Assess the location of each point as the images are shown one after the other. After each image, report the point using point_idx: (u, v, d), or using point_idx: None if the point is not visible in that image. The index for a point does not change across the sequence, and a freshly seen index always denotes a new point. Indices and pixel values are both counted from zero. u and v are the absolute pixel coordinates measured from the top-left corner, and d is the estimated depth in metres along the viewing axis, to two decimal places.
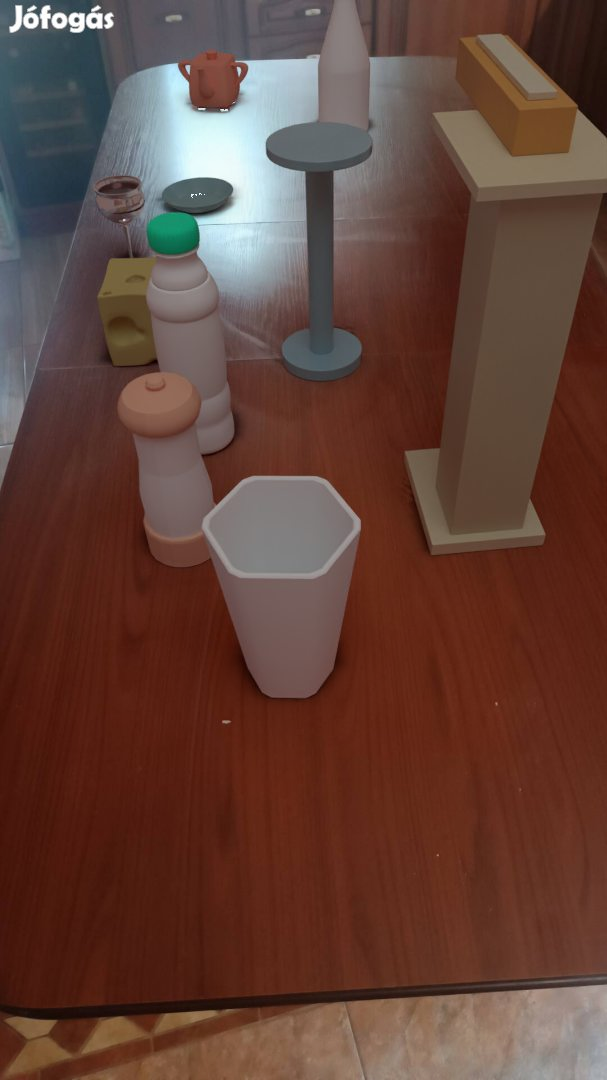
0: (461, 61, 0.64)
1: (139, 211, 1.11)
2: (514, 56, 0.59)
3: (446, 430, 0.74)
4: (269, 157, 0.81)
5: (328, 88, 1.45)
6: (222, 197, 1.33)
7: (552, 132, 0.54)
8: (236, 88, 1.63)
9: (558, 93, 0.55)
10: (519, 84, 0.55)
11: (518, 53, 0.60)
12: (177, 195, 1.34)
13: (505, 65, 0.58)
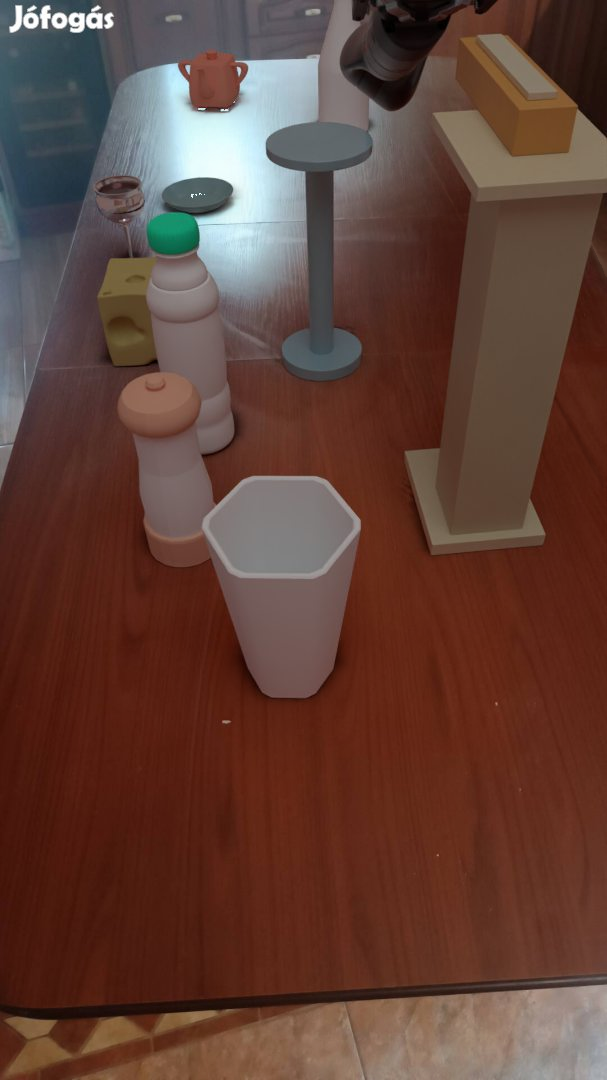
0: (461, 61, 0.64)
1: (139, 211, 1.11)
2: (514, 56, 0.59)
3: (446, 430, 0.74)
4: (269, 157, 0.81)
5: (328, 88, 1.45)
6: (222, 197, 1.33)
7: (552, 132, 0.54)
8: (236, 88, 1.63)
9: (558, 93, 0.55)
10: (519, 84, 0.55)
11: (518, 53, 0.60)
12: (177, 195, 1.34)
13: (505, 65, 0.58)
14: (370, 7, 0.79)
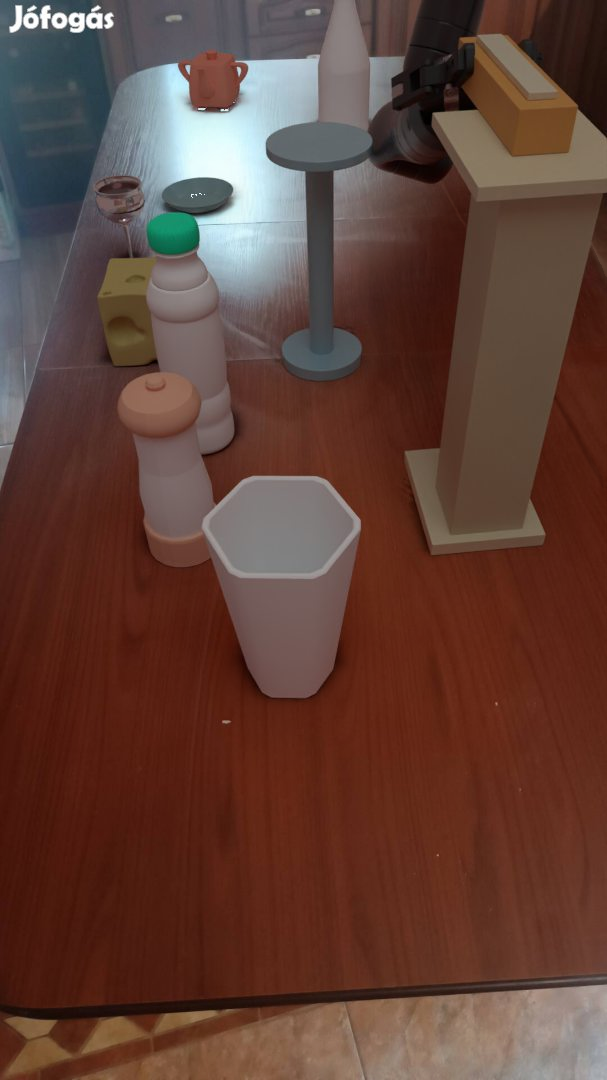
0: None
1: (139, 211, 1.11)
2: (514, 56, 0.59)
3: (446, 430, 0.74)
4: (269, 157, 0.81)
5: (328, 88, 1.45)
6: (222, 197, 1.33)
7: (552, 132, 0.54)
8: (236, 88, 1.63)
9: (558, 93, 0.55)
10: (520, 84, 0.55)
11: (518, 53, 0.60)
12: (177, 195, 1.34)
13: (505, 65, 0.58)
14: None
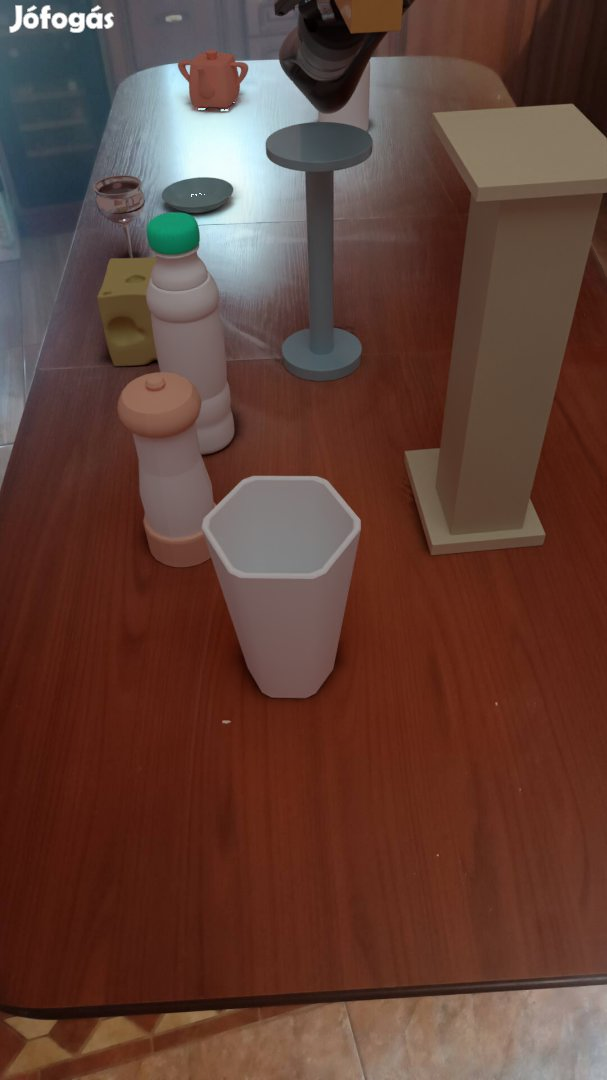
0: None
1: (139, 211, 1.11)
2: None
3: (446, 430, 0.74)
4: (269, 157, 0.81)
5: None
6: (222, 197, 1.33)
7: (384, 11, 0.62)
8: (236, 88, 1.63)
9: None
10: None
11: None
12: (177, 195, 1.34)
13: None
14: None
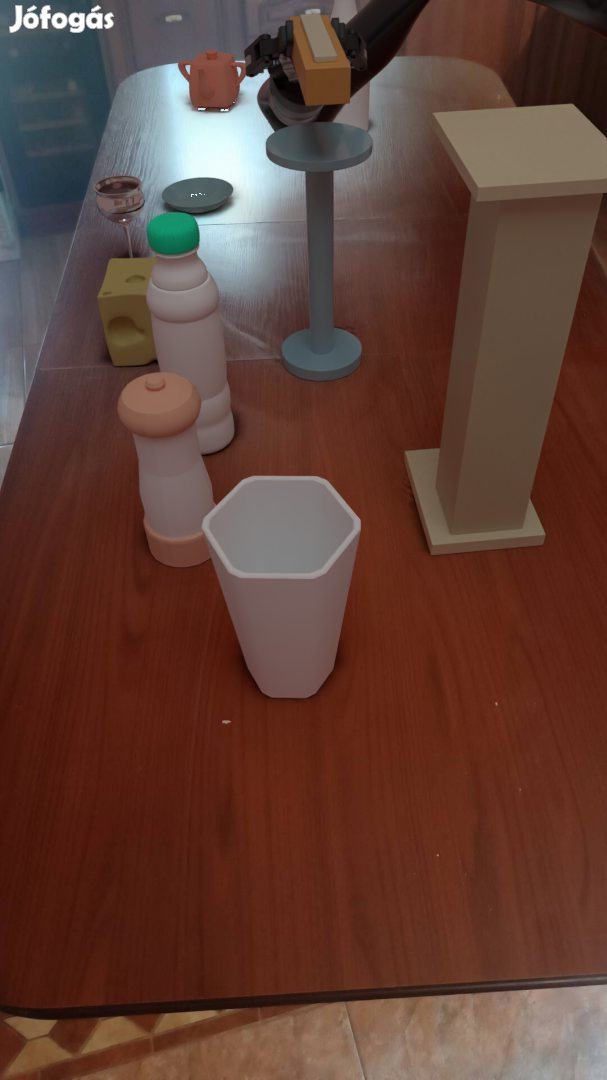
0: None
1: (139, 211, 1.11)
2: (319, 30, 0.76)
3: (446, 430, 0.74)
4: (269, 157, 0.81)
5: None
6: (222, 197, 1.33)
7: (334, 87, 0.71)
8: (236, 88, 1.63)
9: (341, 57, 0.71)
10: (312, 51, 0.72)
11: (323, 28, 0.76)
12: (177, 195, 1.34)
13: (308, 37, 0.74)
14: None
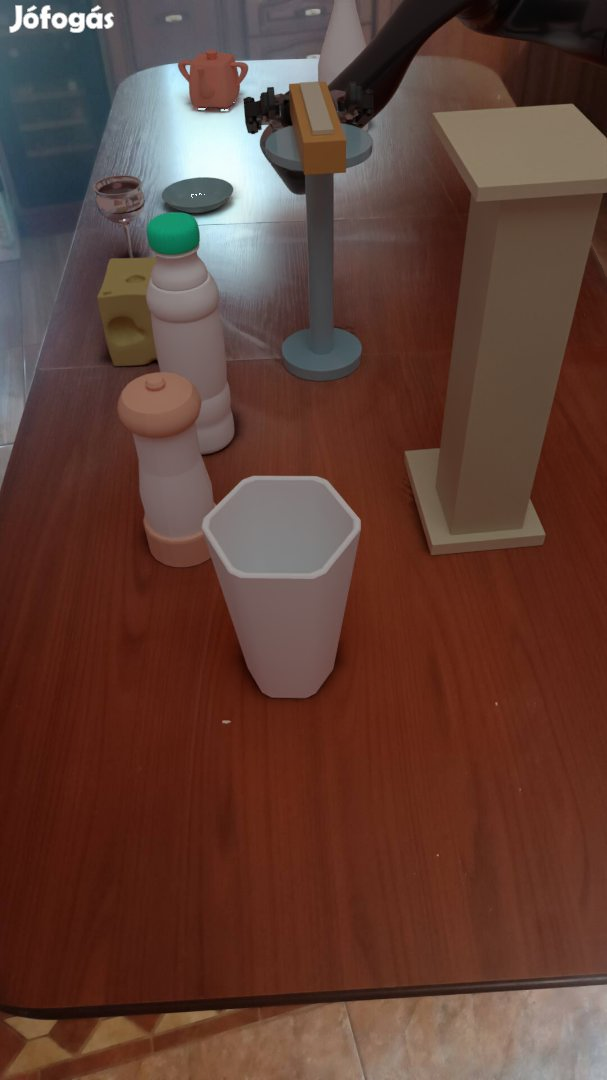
0: (290, 101, 0.86)
1: (139, 211, 1.11)
2: (317, 100, 0.80)
3: (446, 430, 0.74)
4: (269, 157, 0.81)
5: None
6: (222, 197, 1.33)
7: (330, 158, 0.75)
8: (236, 88, 1.63)
9: (337, 130, 0.76)
10: (310, 123, 0.76)
11: (321, 98, 0.81)
12: (177, 195, 1.34)
13: (307, 108, 0.79)
14: (262, 123, 0.92)
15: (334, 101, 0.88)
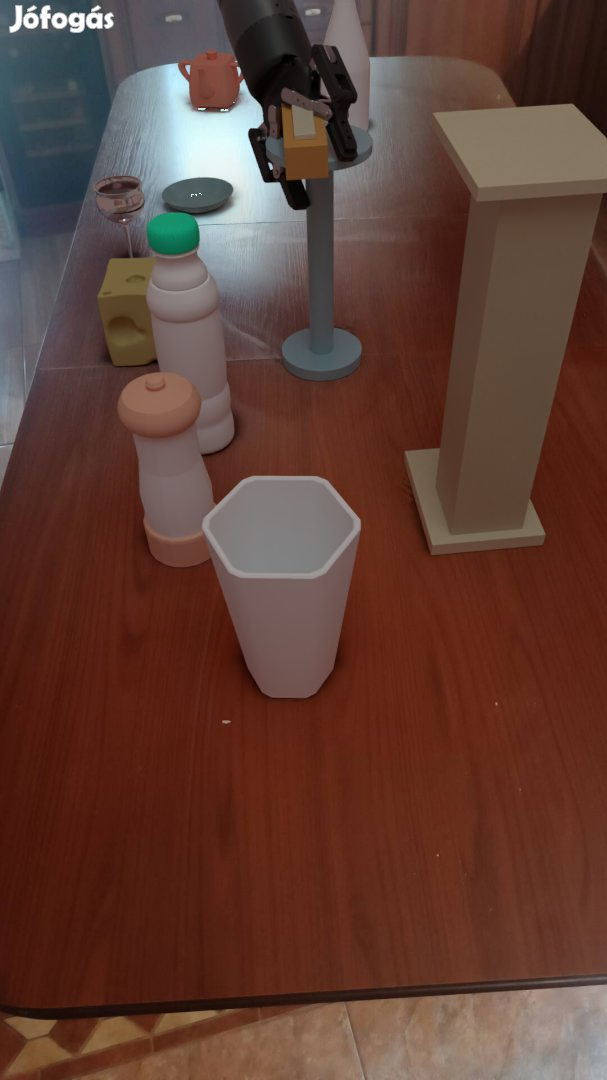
0: None
1: (139, 211, 1.11)
2: None
3: (446, 430, 0.74)
4: (269, 157, 0.81)
5: None
6: (222, 197, 1.33)
7: (312, 163, 0.74)
8: (236, 88, 1.63)
9: (320, 134, 0.75)
10: (293, 128, 0.75)
11: None
12: (177, 195, 1.34)
13: (293, 112, 0.78)
14: None
15: None
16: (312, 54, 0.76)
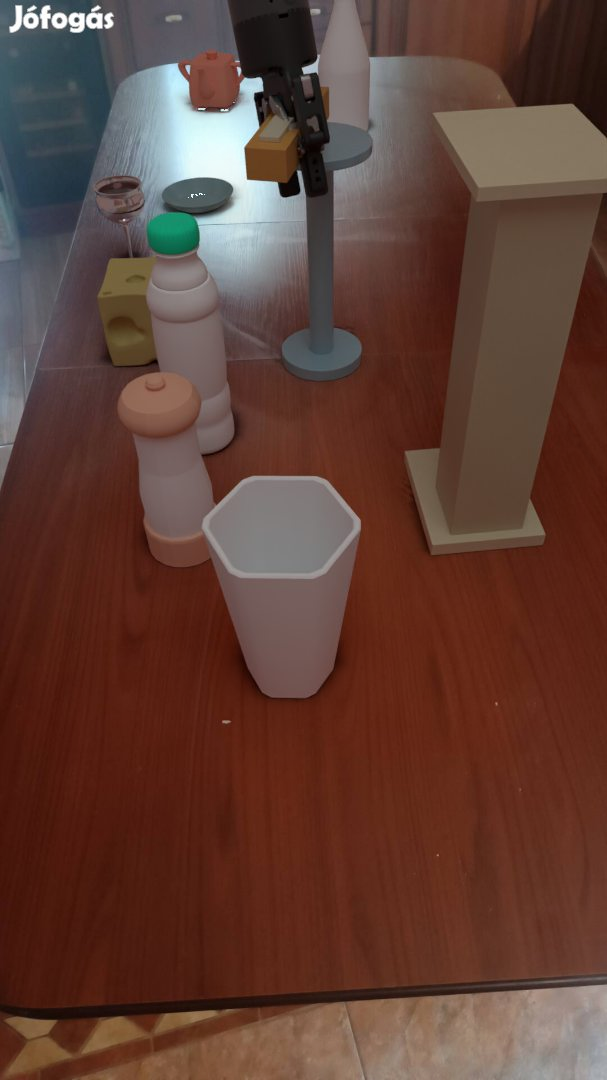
0: None
1: (139, 211, 1.11)
2: None
3: (446, 430, 0.74)
4: None
5: None
6: (222, 197, 1.33)
7: (271, 166, 0.74)
8: (236, 88, 1.63)
9: (287, 138, 0.75)
10: (264, 128, 0.75)
11: None
12: (177, 195, 1.34)
13: None
14: None
15: None
16: (290, 85, 0.73)
